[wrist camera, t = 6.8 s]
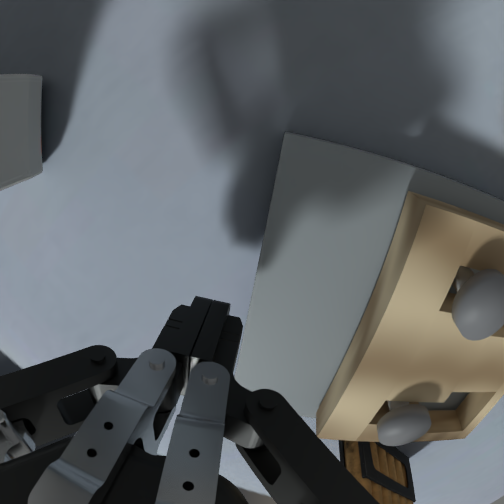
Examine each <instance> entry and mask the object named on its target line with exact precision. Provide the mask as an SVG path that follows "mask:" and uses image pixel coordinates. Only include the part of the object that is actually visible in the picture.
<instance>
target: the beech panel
mask: <svg viewBox="0 0 504 504" xmlns="http://www.w3.org/2000/svg"><path fill="white" fill-rule="evenodd" d="M460 265H461V266H465V267H468V268H472V269H476V270H479V271H481V270H485V269H496V270H498V271H500V272H501V273H502V274H503V275H504V224H501V223H499V222H496V221H494V220H491V219H488V218H486V217H483V216H481V215H478V214H475V213H473V212H470V211H467V210H464V209H462V208H459V207H456V206H453V205H450V204H447V203H445V202H442V201H439V200H436V199H433V198H430V197H426V196H423V195H420V194H417V193H414V192H411V191H408V193H407V196H406V200H405V203H404V206H403V209H402V213H401V216H400V219H399V222H398V225H397V228H396V231H395V234H394V237H393V240H392V243H391V246H390V249H389V251H388V254H387V257H386V260H385V262H384V265H383V268H382V271H381V273H380V276H379V278H378V281H377V284H376V286H375V289H374V291H373V294H372V296H371V299H370V301H369V303H368V306H367V308H366V311H365V313H364V315H363V318H362V320H361V322H360V324H359V327H358V329H357V331H356V333H355V336H354V338H353V340H352V342H351V344H350V347H349V349H348V351H347V353H346V355H345V357H344V359H343V361H342V363H341V365H340V368H339V370H338V372H337V374H336V376H335V378H334V380H333V382H332V383H331V385H330V387H329V389H328V391H327V393H326V395H325V397H324V399H323V401H322V403H321V404H320V406H319V408H318V410H317V412H316V435H317V437H318V438H322V439H333V440H347V441H368V442H380V441H379V439H378V432H377V423H378V421H379V420H380V419H381V418H382V417H383V416H384V415H385V414H386V413H388V412H389V411H390V410H389V405H388V401H405V402H409V404H419V402H439V403H444V402H445V401H446V399H447V398H448V397H449V396H450V394H451V393H452V392H470V393H469V394H468V395H467V396H466V398H465V399H464V400H463V401H462V403H461V404H460V405H459V406H458V408H457V409H456V410H428V412H429V416H430V419H431V427H430V429H429V430H428V431H427V432H426V433H425V434H424V435H423V436H422V437H420V438H418V439H417V440H415V441H413V442H419V441H439V440H452V439H463V438H465V437H466V436H467V435H468V434H469V433H470V432H471V431H472V430H473V429H474V428H475V427H476V426H477V425H478V424H479V423H480V421H481V420H482V419H483V418H484V417H485V416H486V415H487V414H488V412H489V411H490V410H491V409H492V408H493V407H494V405H495V404H496V403H497V402H498V401H499V399H500V398H501V397H502V396H503V394H504V325H503V326H502V327H501V328H500V329H499V330H498V331H497V332H495V333H494V334H493V335H491V336H489V337H487V338H485V339H482V340H477V341H472V340H468V339H466V338H464V337H463V336H462V334H461V333H460V331H459V329H458V328H457V326H456V324H455V323H454V321H453V319H452V304H453V301H454V298H455V296H456V294H454V293H449V292H448V291H449V289H450V287H451V285H452V283H453V280H454V278H455V276H456V274H457V271H458V269H459V267H460Z"/></svg>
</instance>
